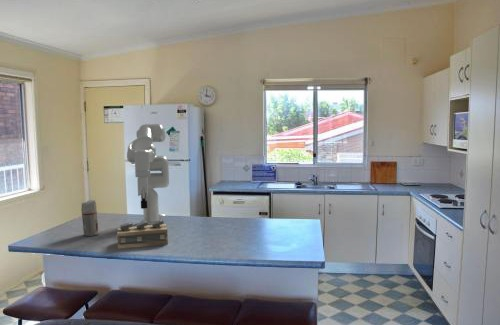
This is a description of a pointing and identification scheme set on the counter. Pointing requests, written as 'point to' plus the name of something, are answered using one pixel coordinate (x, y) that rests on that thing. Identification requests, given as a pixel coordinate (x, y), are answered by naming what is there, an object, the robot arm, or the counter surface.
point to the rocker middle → (142, 224)
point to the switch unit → (142, 236)
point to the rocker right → (158, 222)
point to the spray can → (89, 218)
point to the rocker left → (126, 225)
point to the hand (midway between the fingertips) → (144, 208)
